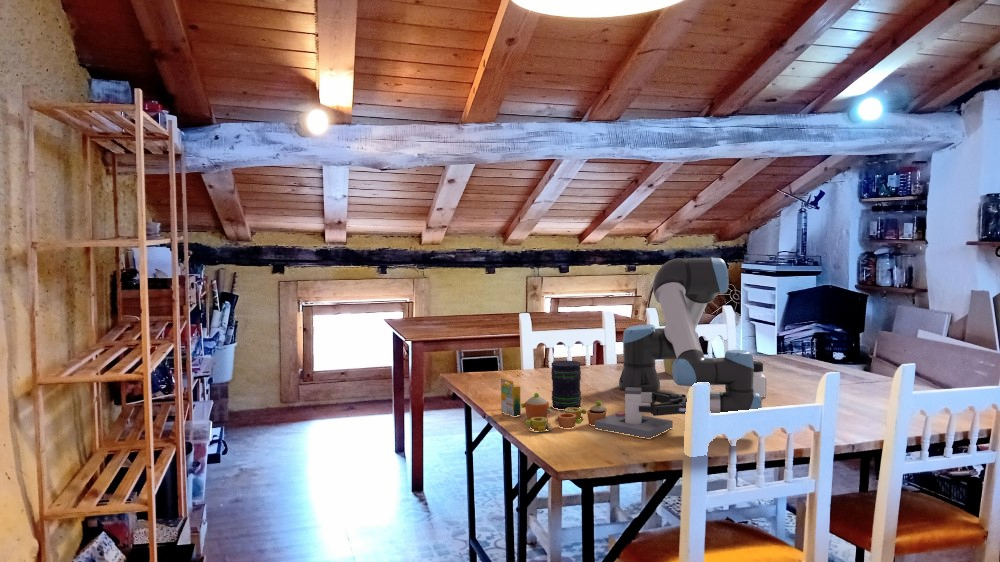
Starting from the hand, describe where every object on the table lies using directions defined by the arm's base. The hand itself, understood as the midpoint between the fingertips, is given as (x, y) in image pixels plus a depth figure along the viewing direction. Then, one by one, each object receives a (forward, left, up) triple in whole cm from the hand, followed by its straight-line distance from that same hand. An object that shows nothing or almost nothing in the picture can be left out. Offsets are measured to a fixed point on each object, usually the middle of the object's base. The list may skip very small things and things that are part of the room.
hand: (628, 401), depth 201 cm
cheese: (-25, +84, -8) cm, 88 cm away
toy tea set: (-19, -7, -9) cm, 22 cm away
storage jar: (-30, +11, -8) cm, 33 cm away
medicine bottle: (+13, +64, -8) cm, 66 cm away
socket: (+1, +1, -8) cm, 8 cm away
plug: (+1, +1, -8) cm, 8 cm away
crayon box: (-38, -8, -8) cm, 40 cm away
